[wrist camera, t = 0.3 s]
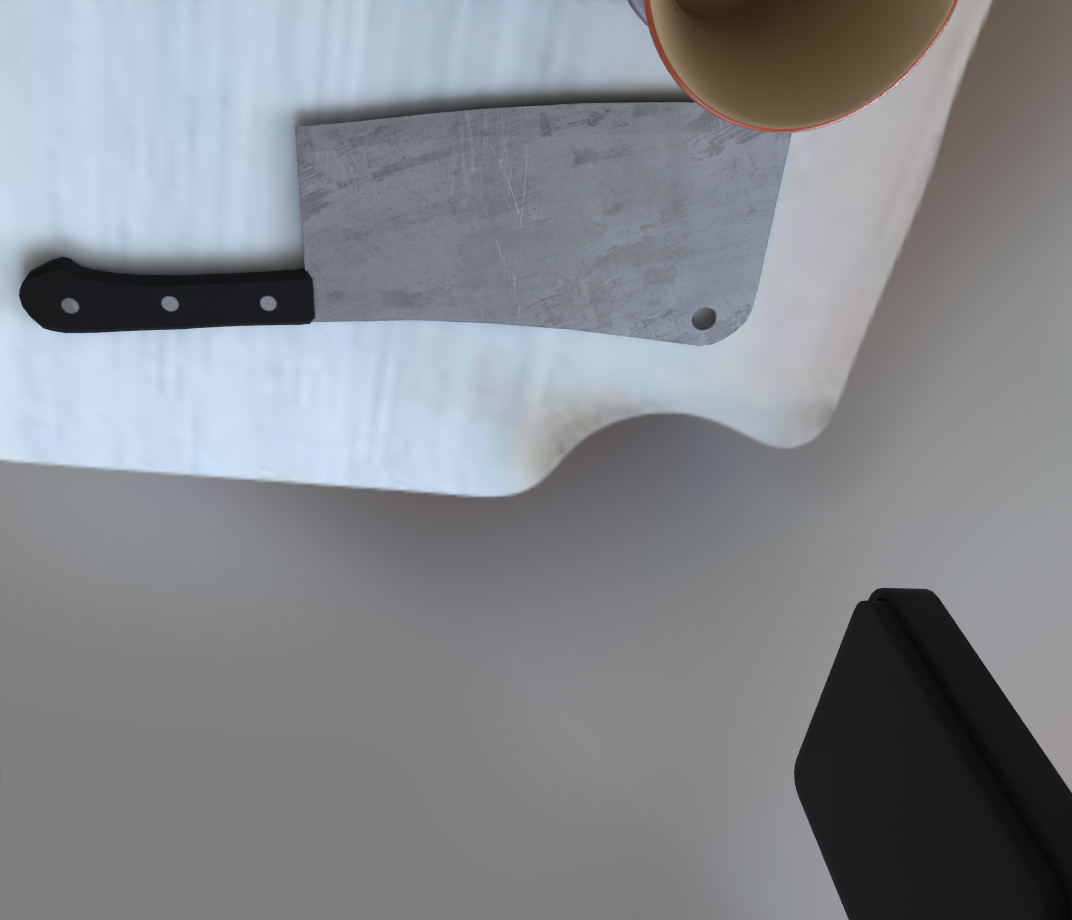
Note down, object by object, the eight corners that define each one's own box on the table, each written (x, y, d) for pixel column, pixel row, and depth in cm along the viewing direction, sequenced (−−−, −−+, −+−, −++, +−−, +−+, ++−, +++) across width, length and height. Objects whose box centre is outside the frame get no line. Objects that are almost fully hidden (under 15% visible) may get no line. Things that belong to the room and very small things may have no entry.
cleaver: (-28, 78, 34) (33, 343, 40) (-33, 81, 34) (30, 349, 39) (793, 103, 38) (748, 342, 44) (798, 107, 38) (751, 347, 43)
